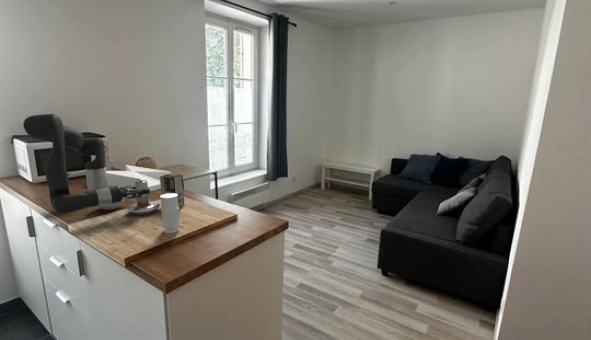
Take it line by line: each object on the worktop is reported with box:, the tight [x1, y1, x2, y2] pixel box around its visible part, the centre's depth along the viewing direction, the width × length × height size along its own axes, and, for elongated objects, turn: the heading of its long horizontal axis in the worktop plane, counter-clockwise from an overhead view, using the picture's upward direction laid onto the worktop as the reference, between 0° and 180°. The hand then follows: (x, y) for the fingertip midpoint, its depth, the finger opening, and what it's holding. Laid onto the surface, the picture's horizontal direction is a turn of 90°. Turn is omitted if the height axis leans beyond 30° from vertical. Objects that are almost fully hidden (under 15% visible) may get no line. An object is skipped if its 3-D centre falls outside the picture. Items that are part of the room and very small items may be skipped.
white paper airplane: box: [106, 164, 173, 193], centre depth 199 cm, size 45×22×10 cm, turn 63°
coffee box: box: [160, 173, 185, 208], centre depth 158 cm, size 9×6×16 cm
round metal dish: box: [126, 200, 161, 217], centre depth 150 cm, size 14×14×3 cm
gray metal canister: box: [135, 180, 150, 207], centre depth 149 cm, size 5×5×12 cm
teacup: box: [98, 197, 128, 211], centre depth 155 cm, size 14×11×8 cm
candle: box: [159, 193, 181, 234], centre depth 128 cm, size 7×7×15 cm
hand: (146, 189), depth 150 cm, fingers open, 8 cm apart
